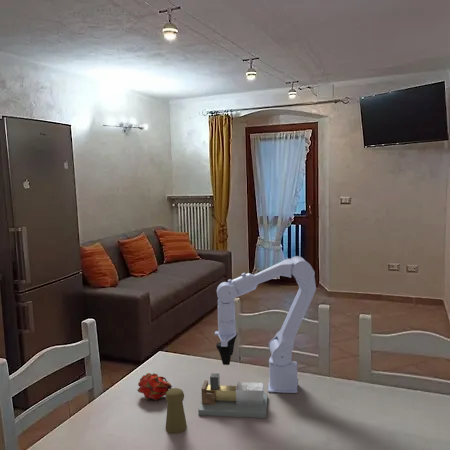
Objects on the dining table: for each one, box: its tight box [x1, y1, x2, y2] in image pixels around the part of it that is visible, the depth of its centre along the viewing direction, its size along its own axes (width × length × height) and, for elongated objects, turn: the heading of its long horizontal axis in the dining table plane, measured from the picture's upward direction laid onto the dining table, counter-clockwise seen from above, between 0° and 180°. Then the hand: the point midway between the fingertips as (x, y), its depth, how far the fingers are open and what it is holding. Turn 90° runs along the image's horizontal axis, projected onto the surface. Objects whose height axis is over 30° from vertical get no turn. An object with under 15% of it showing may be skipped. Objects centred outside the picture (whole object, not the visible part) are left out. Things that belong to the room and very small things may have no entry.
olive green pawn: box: [165, 387, 188, 435], centre depth 121 cm, size 6×6×11 cm
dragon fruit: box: [136, 372, 173, 402], centre depth 139 cm, size 8×8×12 cm
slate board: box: [197, 392, 268, 419], centre depth 133 cm, size 20×12×2 cm, turn 82°
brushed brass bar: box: [206, 372, 237, 401], centre depth 132 cm, size 12×3×7 cm, turn 82°
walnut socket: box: [201, 379, 216, 405], centre depth 133 cm, size 4×6×5 cm
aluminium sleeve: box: [236, 381, 265, 407], centre depth 132 cm, size 8×5×5 cm, turn 82°
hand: (227, 359), depth 142 cm, fingers open, 7 cm apart
